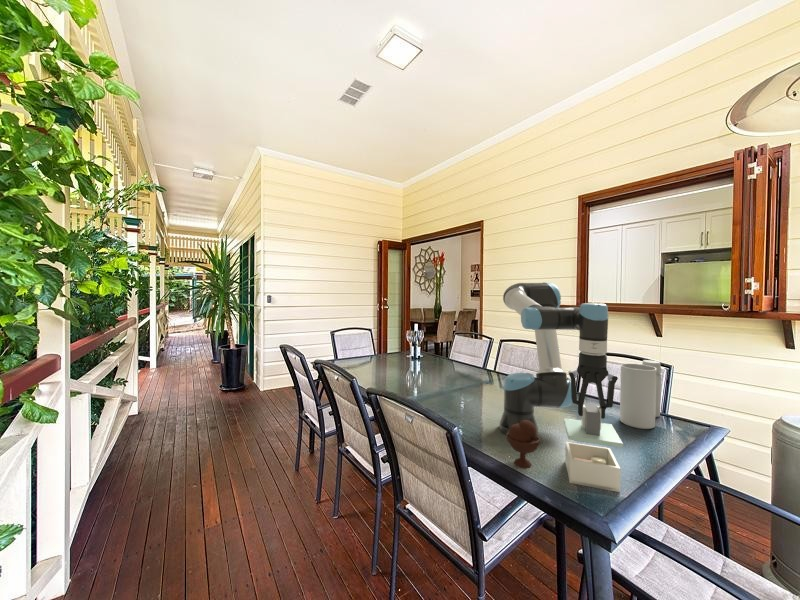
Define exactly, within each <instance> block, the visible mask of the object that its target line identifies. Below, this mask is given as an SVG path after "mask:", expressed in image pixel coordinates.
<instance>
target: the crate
mask: <svg viewBox="0 0 800 600" xmlns="http://www.w3.org/2000/svg"><path fill="white" fill-rule="evenodd" d="M564 455H565V457H564V458H565V459H564V461H565V462H564V463H565V467H566V471H567V476H568V480H569V484H575V485H580V486H586V487H589V488H590V487H592V488H596V489H601V490H606V491H613V492H617V493H620V492H621V469H622V468H621V467H620V465H619V463H618V461H617V459H616V457H615V455H614V453H613V451H612V449H611V447H604V446H600V445H599V446H597V445H591V444H586V443H585V444H583V443H579V442H578V443H577V442H570V441H565V454H564Z"/></svg>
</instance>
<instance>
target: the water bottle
mask: <svg viewBox="0 0 800 600" xmlns="http://www.w3.org/2000/svg"><path fill="white" fill-rule="evenodd" d="M661 364H662V363H661V362H660V361H658V360H653V359H648V360H647V359H643V360H642V364H641V365H647V366H652V367H655V368H656V369H657V370H656V409H655V418H659V417H660V416H661V399H662V398H661V397H662V373H663V372H662V366H661Z"/></svg>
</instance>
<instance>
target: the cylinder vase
mask: <svg viewBox="0 0 800 600" xmlns="http://www.w3.org/2000/svg"><path fill="white" fill-rule="evenodd" d="M656 370H657V369H656V368H655V367H652V366H647V365H642V364H641V363H640V364H639V363H622V364H621V365H620V389H619V390H620V392H619V393H620V394H619V395H620V396H619V397H620V398H619V420H620V422H621V423H623V424H624V425H625V426H628V427H632V428H636V429H639V430H641V429H642V430H650V429H654V428H655V427H656V417H655V409H656Z"/></svg>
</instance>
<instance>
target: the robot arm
mask: <svg viewBox="0 0 800 600" xmlns="http://www.w3.org/2000/svg"><path fill="white" fill-rule="evenodd" d="M560 292H561V291H560V289H559V288H558V286H557V285H556V284H554V283H552V282H518V283H514V284H512V285H510V286H509V287H508V288H506V289H505V291H504V292H503V296H502V300H503V303H504V305H505V306H506V307H507V308H508V309H510V310H514V311H515V312H516V313H517V314H518V315H519V316H520V322H521V325H522V327H523V328H524V329H526V330H533V331H534V336H535V343H536V351H537V352H536V353H537V359H538V360H537V361H538V368H539V369H538V371H537V372H536V373H535V375H534V374H532V373H529V372H515V373H510V374H508V375H507V376H505V378H504V384H503V391H504V392H503V413H502V415H501V418H500V420H499V431H500V432H501V433H503V434H505V435H506V433H507V432H508V431H509V430H510V427H511V426H512V425H514V424H516V423H520V422H521V421H523V420H529V421H531V422H532V423H533V424H534V425H535V426H536V430H537V431H536V433H537V435H538V436H539V426H538V423H537V419H536V417H535V412H534V411H535V408H537V407H538V408H540V407H541V408H558V409H559V408H568V407H570V406H571V405H572V404H575V405H577V414H578V416H580V417H581V419H580V420H581V424H582V427H583V428H585V419H586V407H585V404H584V403H585V400H586V399H585V398H586V394H587V390H588V387H589V384H592V383H593V384H595V385H596V391H597V398H598V403H599V405H596V406H597V408H598V410H599V412H600V430H601V423H602V420H604V419H605V418H606V409H608V408H610V409H611V408H613V406H614V397H615V387H616V385H615V384H616V382H617V381H618V380H619V377H618V376H616V375H615V374H614V373H610V372H609V371H608V367H607V365H608V362H607V360H608V356H607V353H608V331H609V330H608V329H609V328H608V327H609V317H610V316H609V307H608V305H607V304H605V303H599V302H598V303H595V302H588V303H587V302H585V303H581V304H580V306H571V307H560V306H561V304H562V303H561V302H562V301H561V300H562V297H561V296H562V295H561V293H560ZM557 330H562V331H564V330H567V331H568V330H569V331H573V330H575V331H579V337H578V341H579V342H578V343H579V344H578V350H579V352H578V366H577V368H576V369H575V370H569V371H568V372H566V371H565V370H563V368H562V364H561V355H560V354H561V353H560V349H559V347H560V346H559V341H558V334H557ZM567 374H568V376H569V377H568V376H567ZM578 375H579V376H580V378H581V379H582V380H581V381H582V382H581V386H580V390H579V391H580V392H579V395H578V396H577V381H576V378H578ZM605 378H607V380H608V383H607V392H606V393H607V394H606V401H605V397H604V389H603V384H602V382H603V381H604V380H605ZM577 397H578V398H577Z"/></svg>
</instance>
